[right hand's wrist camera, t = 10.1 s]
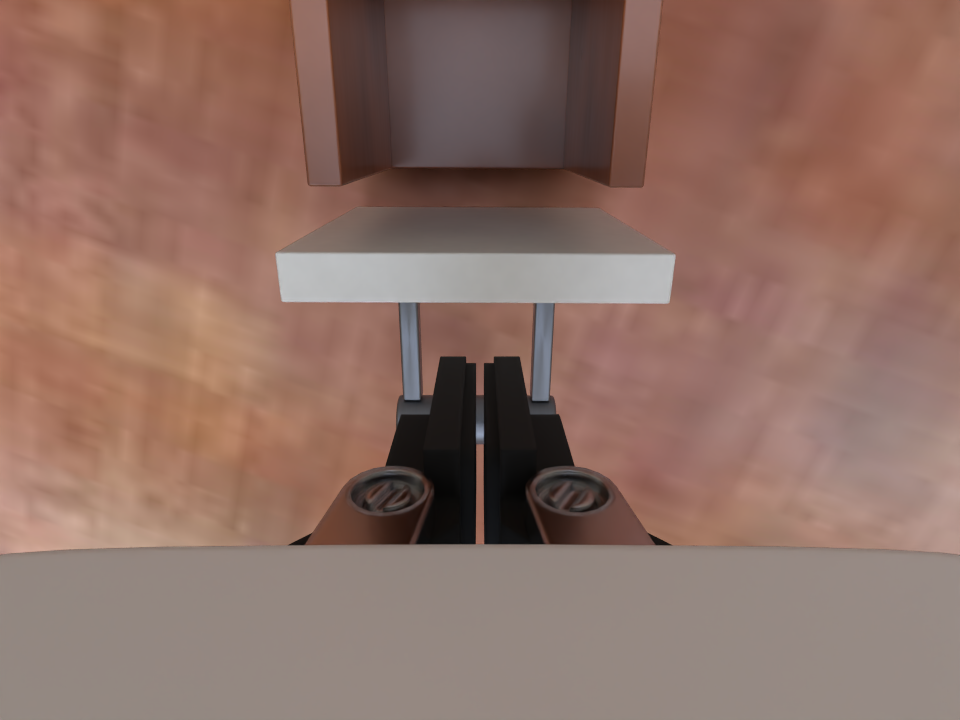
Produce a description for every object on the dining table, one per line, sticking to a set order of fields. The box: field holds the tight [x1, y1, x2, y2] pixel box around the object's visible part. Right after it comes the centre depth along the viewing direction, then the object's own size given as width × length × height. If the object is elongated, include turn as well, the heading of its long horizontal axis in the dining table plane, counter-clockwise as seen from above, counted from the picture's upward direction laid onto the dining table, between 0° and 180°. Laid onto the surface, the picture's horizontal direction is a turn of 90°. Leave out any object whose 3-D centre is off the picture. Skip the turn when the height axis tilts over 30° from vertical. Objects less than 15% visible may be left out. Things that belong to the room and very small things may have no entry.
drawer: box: [275, 0, 676, 444], centre depth 16 cm, size 24×9×9 cm, turn 0°
